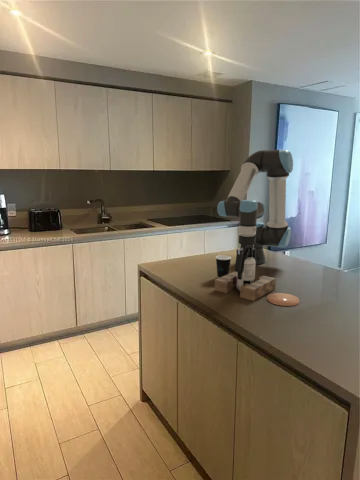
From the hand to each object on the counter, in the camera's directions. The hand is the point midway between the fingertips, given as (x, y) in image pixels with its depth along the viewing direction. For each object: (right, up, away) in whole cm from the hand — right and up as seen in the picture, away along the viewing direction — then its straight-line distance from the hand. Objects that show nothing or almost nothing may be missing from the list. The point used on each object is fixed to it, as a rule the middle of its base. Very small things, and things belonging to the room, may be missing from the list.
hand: (245, 283), depth 159 cm
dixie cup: (-8, 0, +17) cm, 19 cm away
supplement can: (0, -3, +1) cm, 3 cm away
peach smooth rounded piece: (+14, -6, -12) cm, 19 cm away
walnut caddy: (0, -3, +1) cm, 3 cm away
